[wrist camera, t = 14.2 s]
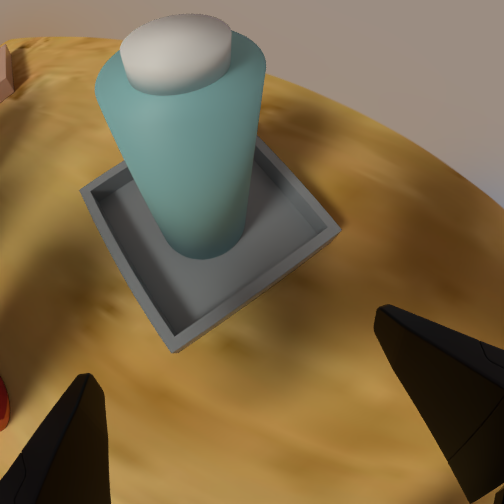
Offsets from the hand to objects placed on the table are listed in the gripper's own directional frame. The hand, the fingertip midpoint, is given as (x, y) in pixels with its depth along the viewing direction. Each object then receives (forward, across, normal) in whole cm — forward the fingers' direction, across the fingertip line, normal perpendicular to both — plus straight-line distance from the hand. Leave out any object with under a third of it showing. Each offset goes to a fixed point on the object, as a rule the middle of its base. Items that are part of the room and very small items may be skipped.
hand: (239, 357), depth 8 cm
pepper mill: (+11, 0, 0) cm, 11 cm away
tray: (+11, 0, 0) cm, 11 cm away
